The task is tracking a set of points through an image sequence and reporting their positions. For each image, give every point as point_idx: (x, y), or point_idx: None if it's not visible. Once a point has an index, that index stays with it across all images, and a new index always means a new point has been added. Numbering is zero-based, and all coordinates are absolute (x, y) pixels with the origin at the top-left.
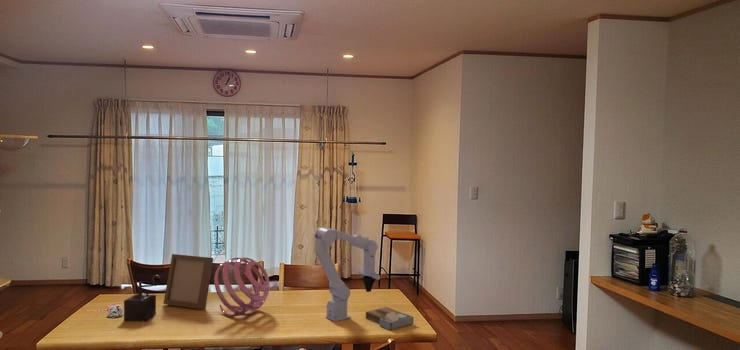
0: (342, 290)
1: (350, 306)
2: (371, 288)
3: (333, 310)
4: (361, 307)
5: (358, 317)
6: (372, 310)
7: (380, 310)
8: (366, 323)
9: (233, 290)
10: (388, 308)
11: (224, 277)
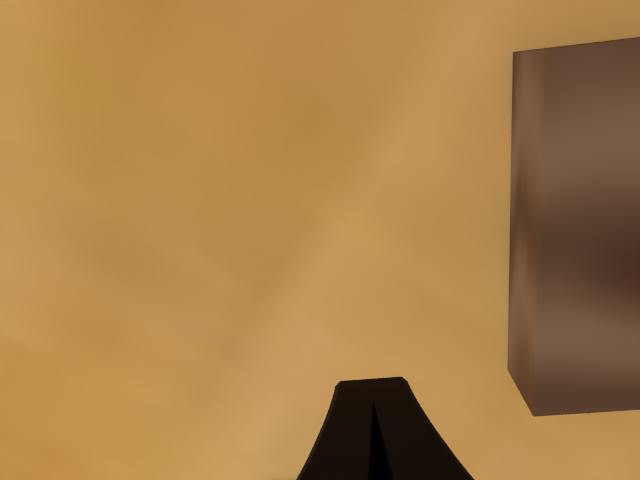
0: None
1: (59, 292)
2: (429, 424)
3: None
4: (144, 202)
5: (440, 411)
6: (542, 322)
7: (618, 234)
8: (636, 440)
9: None
10: (633, 65)
11: None
